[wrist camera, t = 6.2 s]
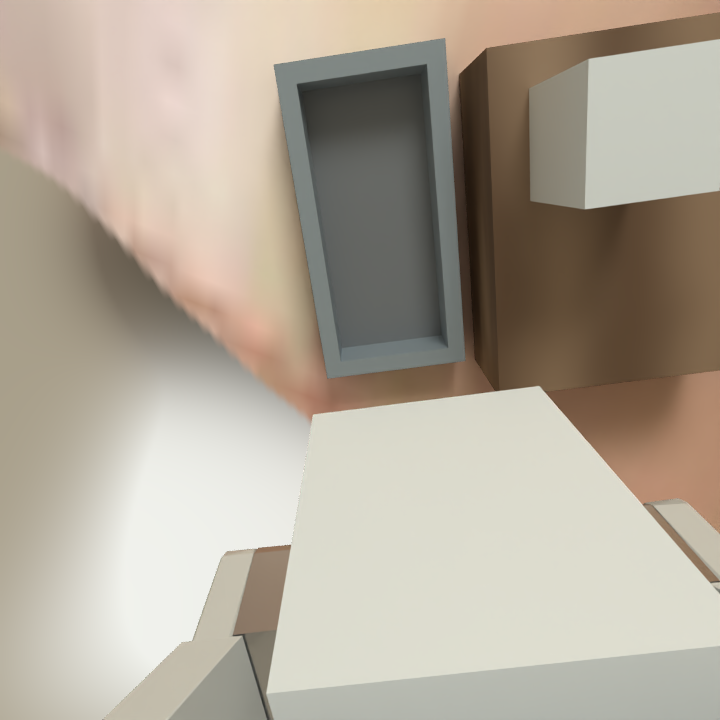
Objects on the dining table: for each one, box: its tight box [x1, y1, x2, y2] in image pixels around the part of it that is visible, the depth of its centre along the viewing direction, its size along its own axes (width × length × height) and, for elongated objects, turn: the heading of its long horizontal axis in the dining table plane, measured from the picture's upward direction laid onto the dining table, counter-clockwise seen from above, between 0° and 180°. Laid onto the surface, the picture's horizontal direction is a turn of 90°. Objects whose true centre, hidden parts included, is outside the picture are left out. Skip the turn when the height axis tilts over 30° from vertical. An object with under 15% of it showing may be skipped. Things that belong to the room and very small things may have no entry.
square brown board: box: [459, 12, 720, 392], centre depth 22 cm, size 12×14×5 cm
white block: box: [529, 39, 720, 209], centre depth 16 cm, size 4×4×5 cm
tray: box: [274, 38, 465, 378], centre depth 24 cm, size 7×14×2 cm, turn 8°
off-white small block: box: [266, 386, 720, 720], centre depth 7 cm, size 4×4×5 cm
